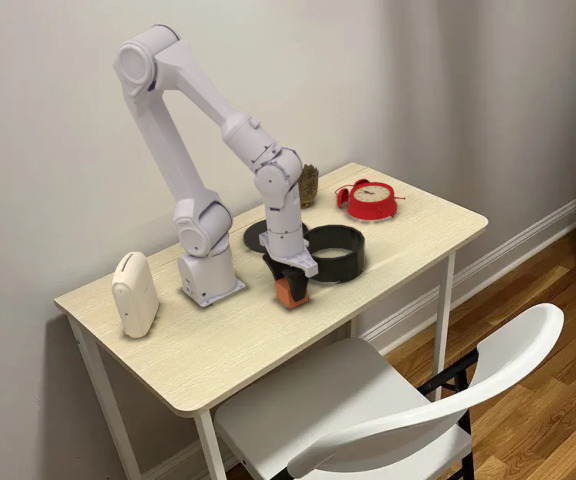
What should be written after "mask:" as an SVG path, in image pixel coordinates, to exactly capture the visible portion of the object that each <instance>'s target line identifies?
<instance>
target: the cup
mask: <svg viewBox="0 0 576 480" xmlns="http://www.w3.org/2000/svg"><path fill="white" fill-rule="evenodd" d="M319 170H320V169H318V167H317V166H314V165H313V164H309V165H308V164H306V163H305V164H303V170H302V173H301V175H300V177H299V178H298V180H297V181H296V182H298V187H299V197H300V208H301V209H307V208H310V207H311V206H312V204H313V200H314V199H315V198H316V196H317V194H318V189H319V173H320V171H319Z"/></svg>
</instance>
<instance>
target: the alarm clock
mask: <svg viewBox="0 0 576 480" xmlns="http://www.w3.org/2000/svg"><path fill="white" fill-rule="evenodd" d="M346 187H347V188H346ZM348 187H352V188H351V189H350V191H349V189H348ZM337 192H338V193H337ZM334 194H335V195H336V196H335V197H336V204H337V207H338V208H339V209H343V207H342V204H343V203H348V204H347V206H346V212H347V214H349V216H351V217H353V218H355V219H357V220H362V221H379V220H383V219H386V218H388V217H391V218H395V216H394V214H395V213H396V212H397V210H398V203H397V202H396V200H405V201H406V197H405V196H404V197H399V196H395V190H394V188H393V187H392V185H390V184H388V183H385V182H381V181H370V180H368V179H367V178H359V179H357V180H356V181H355V182H354V183H353V184H346V185H343V186H340V187H337V189H336V190H335V191H334Z"/></svg>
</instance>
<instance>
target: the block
mask: <svg viewBox="0 0 576 480" xmlns="http://www.w3.org/2000/svg"><path fill="white" fill-rule="evenodd" d="M274 283H275V284H274V285H275V292H276V298H277V299H278V300H279V301H280V302H281V303H282V304H284V305H285V306H286V308H287V309H288V310H292V309H294V308H296V307H298V306H300V305H303V304H304V303H306V302H308V301H309V296H308V295H309V294H308V289H307V290H306V295H305V298H304V299H302V300H300V301H298V302H295V301H294V300H293V298H292V295H291V291H290V286H289V284H288V281H287V279H286V277H283V278H281V279H279V280H277V281H275V280H274Z"/></svg>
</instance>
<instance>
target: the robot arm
mask: <svg viewBox="0 0 576 480" xmlns="http://www.w3.org/2000/svg"><path fill="white" fill-rule="evenodd" d="M112 67H113V69H114V72H115V73H116V75H117V77H118V79H119V81H120V84H121V85H120V86H121V91H122V97H123V100H124V103H125V105H126V107H127V109H128V110H129V113H130V114H131V117H132V118H133V121H134V123H135V124H136V127H137V129H138V130H139V133H140V134H141V136H142V138H143V140H144V142H145V144H146V146H147V148H148V150H149V152H150V154H151V156H152V158H153V160H154V162H155V163H156V166H157V167H158V169H159V171H160V173H161V176H162V177H163V179H164V181H165V183H166V185H167V187H168V189H169V191H170V194H171V195H172V197H173V199H174V201H175V206H174V207H175V208H174V213H173V219H172V222H173V225H174V226H175V228H176V232H177V240H178V242H179V244H180V246H181V248H182V249H183V250H184V251H185V252H184V253H182V255H180V256H179V257H177V267H178V271H179V275H180V279H181V283H182V288H181V289H182V291H183V292H184V293H185V294H186V295H187V296H188V297H190V298H191V300H193V301H194V302H195V303H196V304H197V305H198V306H200V307H201V308H205V307H208V306H210V305H212V304H213V303H214V302H215V301H217V300H220V299H222V298H224V297H226V296H228V295H230V294H231V295H232V294H233V293H235V292H237V291H239V290H241V289H244V288H246V286H247V285H246V283H244V282H243V281H241V280H240V279H239V278H237V276H236V272H235V271H236V270H235V265H234V261H233V254H232V249H231V243H230V237H231V236H230V230H231V229H232V227H233V225H234V215H233V213H232V211H231V209H230V208H229V207H228V206H227V205H226V203H224V202H223V201H222V199H221V198H220V195H219V193H218V192H217V191H216V190H212V189H210V188H206V186H205V185H204V183H203V180H202V178H201V176H200V173H199V172H198V170H197V168H196V166H195V163H194V161H193V158H192V157H191V155H190V153H189V151H188V149H187V147H186V144H185V143H184V140H183V139H182V136H181V134H180V132H179V130H178V127H177V126H176V124H175V121H174V120H173V118H172V115H171V113H170V111H169V109H168V107H167V105H166V103H165V101H164V98H163V95H164V92H165V91H180V92H181V93H182V94H183V95H184V96H186V98H188V99H189V100H190V101H191V102H192V103H193V104H194V105H195V106H196V107H197V108H198V109H200V111H202V112H203V113H204V114H205V116H207V117H208V118H209V119H210V120H212V121H213V122H214V124H216V125H217V126H218V127H219V128H220V130H221V140H222V142H223V143H224V144H225V146H226V147H228V148H229V150H231V151H232V152H233V154H234V155H235V156H236V157H237V158H238V159H239V160H240V161H241V162H242V163H243V164H244V165H245V166H246V168H248V169H249V170H250V172H251V173H253V174H254V175H255V177H253V179H252V181H253V183H254V186H255V188H256V189H257V191H258V192H259V193H260V195H261V196H262V201H263V205H264V214H265V219H266V222H267V230H268V231H267V232H264V233H262V234H260V235H259V239H260V244H261V245H262V246H265V247H266V249H267V251H268V253H263V254H262V256H261V259H262V261H263V262H264V263H265V264H266V266H267V267H268V268H269V271H270V272H271V274H272V276H273V279H274V282H275V281H277V280H279V279H281V278H283V277H286V279H287V281H288V284H289V286H290V291H291V295H292V298H293V300H294V301H295V302H298V301H300V300H302V299H304V298H305V295H306V290H307V291H308V285H309V281H310V280H311V279H310V277H312V276H314V275H316V274H318V264H317V263H316V262H315V261H314V260H313V259H312V257H311V255H312V254H311V255H310V254H309V252H308V250H307V248H306V247H308V246H309V242H308V241H307V240H305V239H303V231H302V222H303V221H302V208H300V197H299V187H298V182H296V181H297V180H298V178H299V177H300V175H301V173H302V170H303V167H304V164H303V161H302V158H301V157H300V155H299V154H298V152H297V150H296V149H295V148H293V147H292V146H288V145H284V144H282V143H280V142H279V141H276V140H275V139H274V138H273V137H272V136H271V135H270V133H269V132H267V130H265V128H264V127H263V126H262V125H261V121H260V120H259V118H258V117H257V116H253V115H252V114H251V113H250V112H247V111H239V110H236V109H235V107H234V106H233V105H232V103H231V102H230V101H229V100H228V99H227V97H226V96H225V95H224V94H223V93H222V91H221V90H220V89H219V87H218V86H217V85H216V84H215V82H214V81H212V79H211V77H210V76H208V74H207V73H206V72H205V70H203V68H202V67H201V65H199V64H198V62H197V60H196V58H194V55H193V51H192V49H191V46H190V44H189V43H188V42H187V41H186V40H185V39H183V38H181V35H180V34H179V32H178V31H177V30H176V29H175V28H174V27H173V26H171V25H170V24H167V23H165V22H158V23H155V24H153V25H152V26H151V27H149V29H147V30H145V31H143V32H142V33H140V34H138V35H136V36H135V37H132V38H131V39H129V40H125V41H123V42H122V43H121V44H120V45H118V47H117V50H116V53H115V56H114V60H113V62H112Z"/></svg>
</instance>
